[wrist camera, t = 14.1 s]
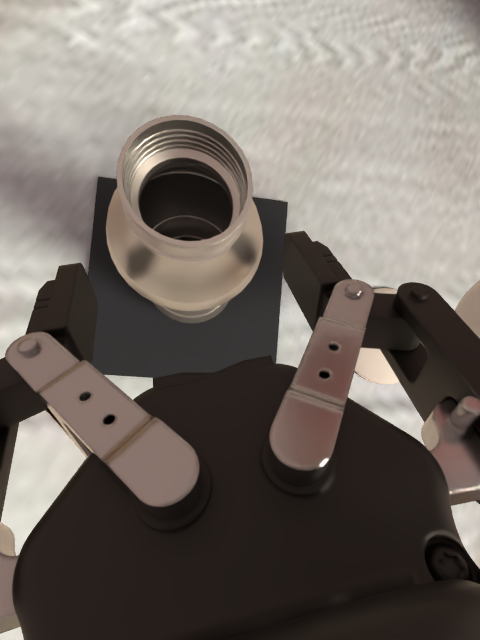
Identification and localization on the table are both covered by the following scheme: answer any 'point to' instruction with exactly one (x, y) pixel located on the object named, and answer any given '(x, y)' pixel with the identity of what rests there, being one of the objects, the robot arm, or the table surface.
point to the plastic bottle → (184, 217)
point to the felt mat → (178, 337)
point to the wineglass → (473, 309)
